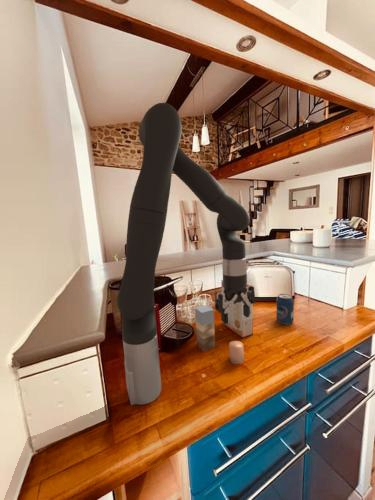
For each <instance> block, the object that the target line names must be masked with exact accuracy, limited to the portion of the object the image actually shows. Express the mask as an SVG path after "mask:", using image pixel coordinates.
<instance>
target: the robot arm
mask: <svg viewBox="0 0 375 500" xmlns="http://www.w3.org/2000/svg"><path fill="white" fill-rule="evenodd" d="M182 129H183V127H182V121H181V117H180V114H179V112H178V111H177V109H176V108H175V107H174V106H173V105H171V104H169V103H166V102H158V103H155V104H153V105H152V106H151V107H150V108H148V110H147V111H145V113H144V115H143V118H142V119H141V122H140V124H139V127H138V131H137V132H138V134H137V135H138V139H139V141H140V143H141V145H142V147H143V155H142V161H141V167H140V170H139V174H138V176H137V180H136V182H135V186H134V189H133V193H132V195H131V200H130V204H129V205H130V206H129V211H128V219H127V230H126V244H125V245H126V248H125V264H124V265H125V266H124V269H123V270H124V271H123V275H122V279H121V283H120V287H119V290H118V293H117V296H116V306H117V308H118V310H119V313H120V314H121V335H122V345H123V353H124V360H123V362H124V363H123V364H124V374H125V381H126V383H125V384H126V390H127V391H126V392H127V393H128V398H129V402H130V406H134V405H147V404H150V403H152V402H153V401H155V400H156V399H157V398H158V397H159V396H160V394H161V393H162V378H161V367H160V354H159V353H160V352H159V343H158V330H157V329H158V328H157V319H156V318H157V315H156V307H155V306H156V305H155V278H156V277H155V275H156V269H157V262H158V258H159V254H160V251H161V247H162V242H163V237H164V233H165V227H166V221H167V217H168V216H167V215H168V206H169V202H170V201H169V199H170V193H171V186H172V185H171V183H172V175H173V174H174V175H175V176H177V177H178V179H180V180H181V181H182V182H183V183H184V184H185V185H186V186H187V187H188V189H189V190H190V191H191V192H192V193H193V194H194V195H195V196H196V197H197V199H198V200H199V201H200V202H201V204H203V205H204V207H205V208H206V209H208V211H210V212H211V213H216V214H218V215H217V217H216V227H217V232H218V236H219V239H220V242H221V245H222V246H221V247H222V265H221V267H222V280H223V286H224V292H223V293H222V292H218V291H217V292H215V294H214V299H215V300H214V311H216V312H218V313H219V314H220V317H221V318H220V320H221V322H222V324H223V323H225V324H228V313H227V312H228V310H229V308H231V307H232V305H233V304H236V303H237V302H241V301H242V302H243V304H244V305H243V315H244V316H245V317H249V315H250V306H251V304H252V303H253V305H254V304H255V303H256V295H255V286H253V285H252V284H249V285H247V284H248V276H247V275H248V272H247V271H248V269H247V260H246V243H245V241H244V240H243V239H242V238H240V237H238V233H237V232H243V231H244V230H246V229H247V228H248V227H249V225H250V222H251V218H250V215H249V212H248V211H247V209H246V208H245V207H244V205H242V204H241V202H238V200H236V199H235V198H234V197H233V196H231V195H229V194H228V193H227V192H226V191H225V188H223V186H222V184H220V183H219V182H218V181H217V179H216V178H215V177H214V176H213V175H212V174H211V173H210V172H209V171H208V170H206V169H205V168H204V167H202V166H201V165H199V164H198V163H197V162H195V161H194V160H193V159H192V158H191V157H189V156H188V155H187V153H185V152H184V150H183V149H182V148H181V147H180V141H181V138H182V133H183V132H182V131H183V130H182ZM251 285H252V286H251ZM246 292H247V297H246V296H245V294H246ZM224 297H225V298H224ZM227 301H229V303H227Z"/></svg>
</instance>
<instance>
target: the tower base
mask: <svg viewBox="0 0 375 500" xmlns="http://www.w3.org/2000/svg"><path fill="white" fill-rule="evenodd" d="M196 345H197V346H198V347H199V349H200V350H202V352H206V351H210V350H211V349H215V348H216V336H215V335H213V336H210V337H207V338H204V339H203V338H201V337H200V336H199V335H198V334H197V333H196Z"/></svg>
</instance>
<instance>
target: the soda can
mask: <svg viewBox="0 0 375 500" xmlns="http://www.w3.org/2000/svg"><path fill="white" fill-rule="evenodd" d="M294 306H295V301H294V299H293V296H292V295H291V294H288V293H279V294H278V295H277V297H276V320H277V321H278V323H279V324H282V325H291V324H292V323H294V318H295V317H294V312H295V311H294V310H295V309H294V308H295V307H294Z"/></svg>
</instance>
